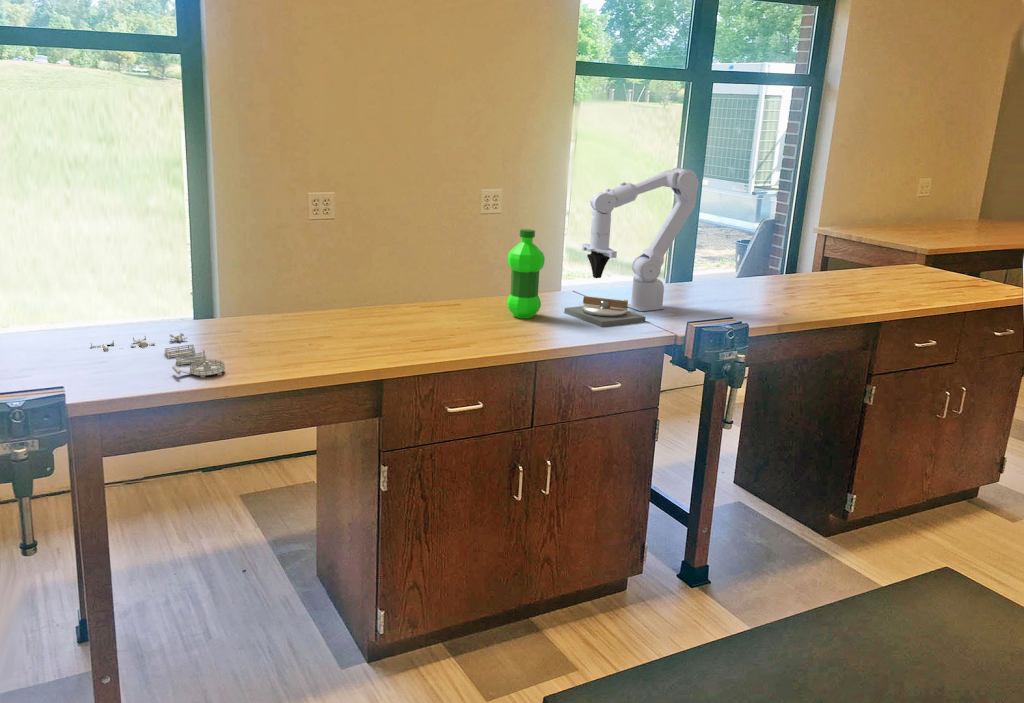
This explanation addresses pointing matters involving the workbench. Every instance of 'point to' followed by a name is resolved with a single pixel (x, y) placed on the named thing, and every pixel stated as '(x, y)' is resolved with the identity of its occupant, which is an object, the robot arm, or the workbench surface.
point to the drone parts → (186, 358)
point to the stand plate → (604, 317)
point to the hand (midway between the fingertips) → (597, 277)
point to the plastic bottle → (525, 276)
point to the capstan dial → (604, 306)
